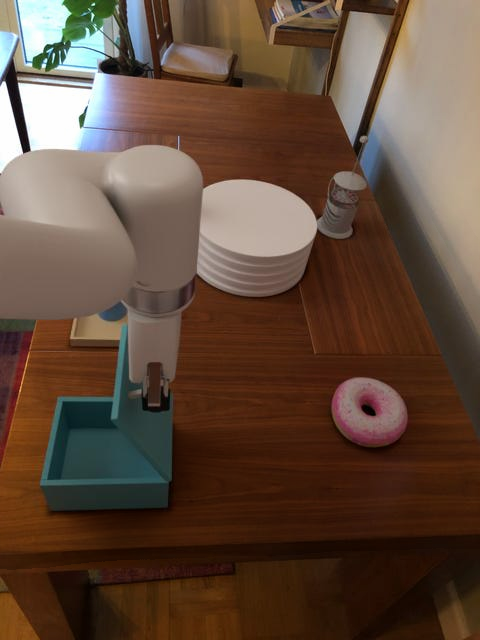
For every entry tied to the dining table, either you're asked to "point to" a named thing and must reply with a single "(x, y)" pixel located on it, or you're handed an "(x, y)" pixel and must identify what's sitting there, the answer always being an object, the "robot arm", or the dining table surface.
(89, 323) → the tray
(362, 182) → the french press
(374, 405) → the donut
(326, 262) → the dining table surface
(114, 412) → the lid
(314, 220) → the plate stack
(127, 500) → the teal wooden box
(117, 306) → the bottle
